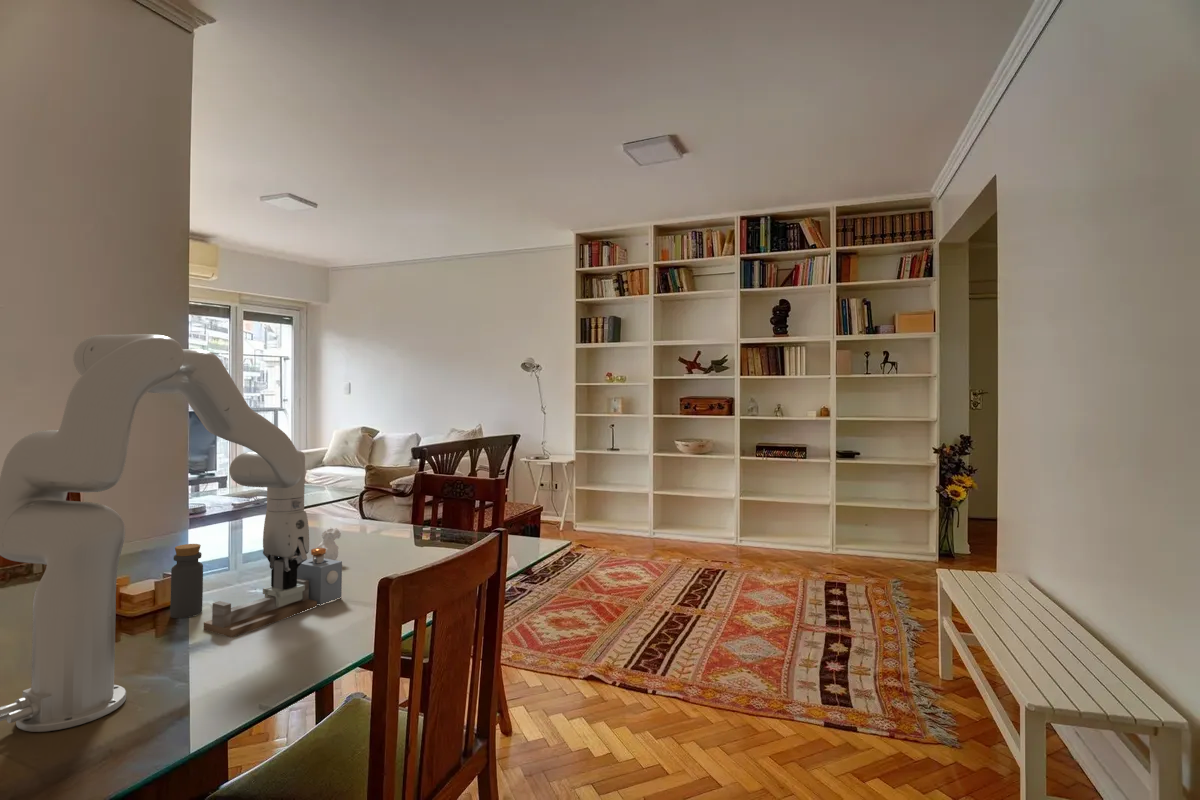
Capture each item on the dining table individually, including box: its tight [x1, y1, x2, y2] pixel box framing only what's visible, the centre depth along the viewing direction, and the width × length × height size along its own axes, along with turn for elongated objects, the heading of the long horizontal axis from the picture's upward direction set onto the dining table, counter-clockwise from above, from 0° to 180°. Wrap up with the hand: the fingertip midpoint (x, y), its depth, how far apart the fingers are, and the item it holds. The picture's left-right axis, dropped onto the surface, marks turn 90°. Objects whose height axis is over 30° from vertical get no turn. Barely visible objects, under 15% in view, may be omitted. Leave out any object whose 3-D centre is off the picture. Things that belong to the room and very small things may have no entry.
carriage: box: [262, 558, 305, 607], centre depth 136 cm, size 6×6×9 cm
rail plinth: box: [203, 578, 317, 638], centre depth 132 cm, size 20×9×6 cm, turn 155°
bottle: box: [169, 543, 204, 619], centre depth 133 cm, size 6×6×15 cm
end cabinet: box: [297, 557, 343, 605], centre depth 144 cm, size 6×9×9 cm, turn 65°
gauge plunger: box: [310, 547, 326, 564], centre depth 144 cm, size 3×3×6 cm
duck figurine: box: [316, 526, 342, 560], centre depth 177 cm, size 12×8×11 cm
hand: (284, 585), depth 136 cm, fingers closed on carriage, 3 cm apart
